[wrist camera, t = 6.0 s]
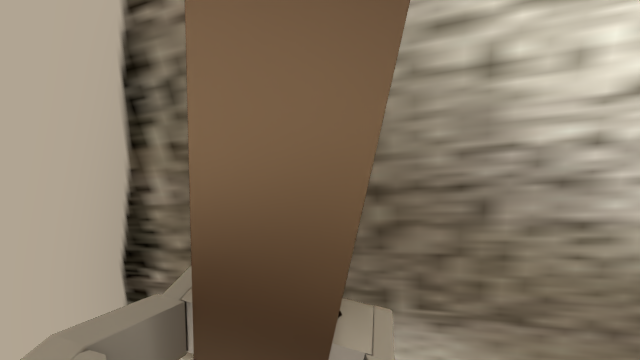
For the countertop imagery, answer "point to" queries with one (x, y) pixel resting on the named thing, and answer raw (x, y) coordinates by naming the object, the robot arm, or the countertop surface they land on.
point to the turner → (280, 164)
